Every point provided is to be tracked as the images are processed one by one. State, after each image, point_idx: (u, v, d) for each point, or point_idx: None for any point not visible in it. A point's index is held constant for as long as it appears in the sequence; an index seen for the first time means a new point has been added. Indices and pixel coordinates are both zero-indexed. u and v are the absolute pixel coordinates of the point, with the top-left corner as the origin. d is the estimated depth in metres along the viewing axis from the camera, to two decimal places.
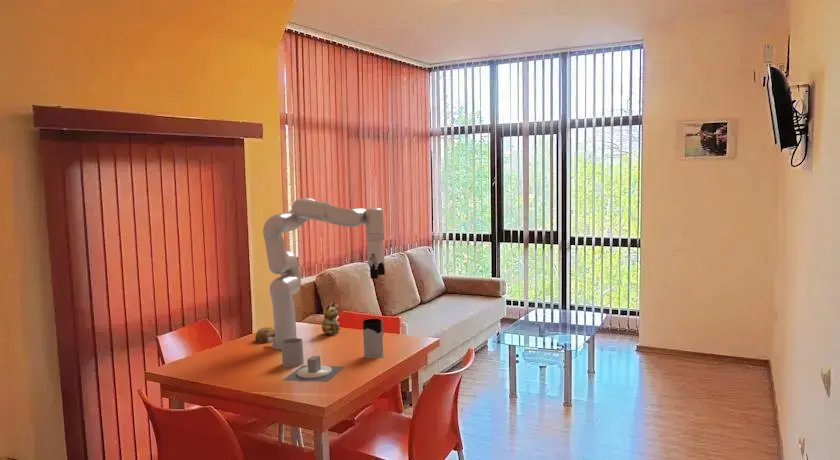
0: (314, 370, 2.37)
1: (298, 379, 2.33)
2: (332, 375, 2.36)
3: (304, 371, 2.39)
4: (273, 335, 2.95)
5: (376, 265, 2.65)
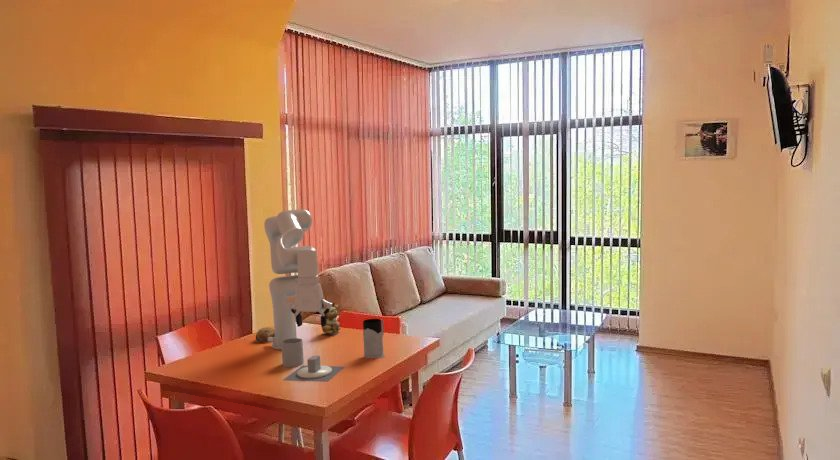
0: (314, 370, 2.37)
1: (298, 379, 2.33)
2: (332, 375, 2.36)
3: (304, 371, 2.39)
4: (273, 335, 2.95)
5: (324, 310, 2.38)
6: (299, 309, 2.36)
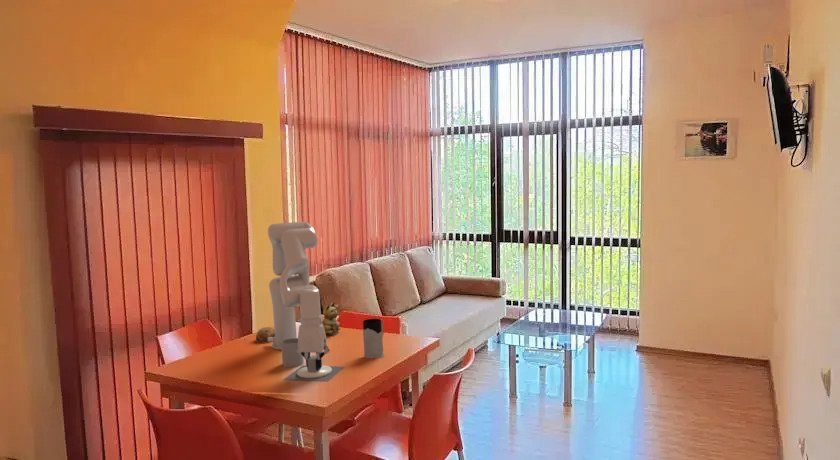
0: (314, 370, 2.37)
1: (298, 379, 2.33)
2: (332, 375, 2.36)
3: (304, 371, 2.40)
4: (274, 335, 2.95)
5: None
6: (302, 349, 2.37)
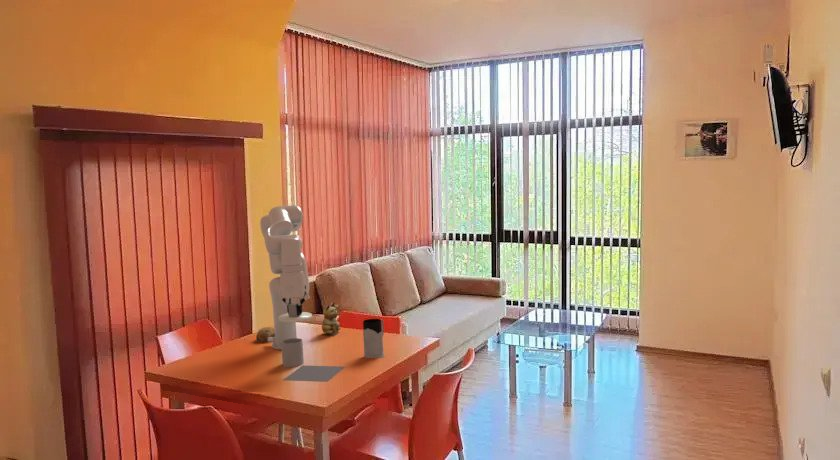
0: (295, 315, 2.46)
1: (298, 379, 2.33)
2: (332, 375, 2.36)
3: (285, 316, 2.48)
4: (274, 335, 2.95)
5: None
6: (283, 295, 2.46)
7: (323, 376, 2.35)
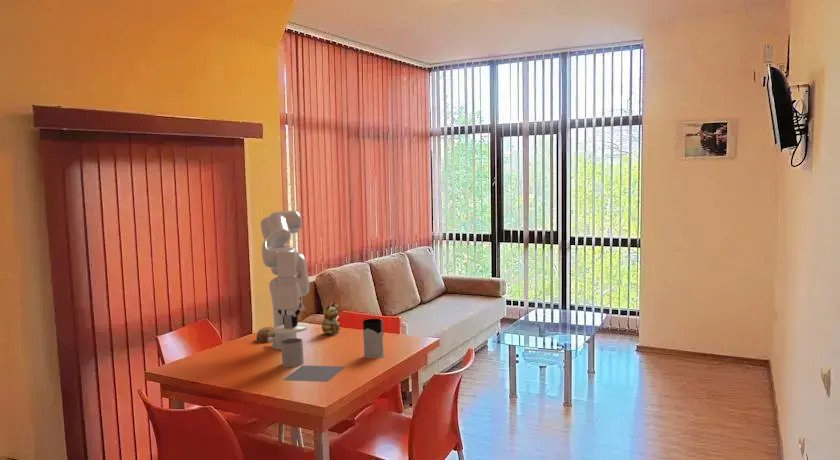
0: (290, 326, 2.50)
1: (298, 379, 2.33)
2: (332, 375, 2.36)
3: (281, 328, 2.52)
4: (274, 335, 2.95)
5: None
6: (278, 307, 2.50)
7: (323, 376, 2.35)
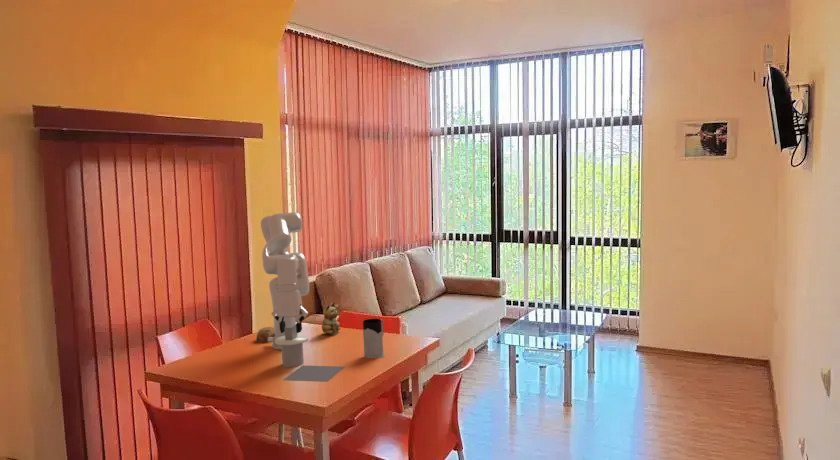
0: (291, 338, 2.50)
1: (298, 379, 2.33)
2: (332, 375, 2.36)
3: (281, 339, 2.53)
4: (274, 334, 2.96)
5: None
6: (279, 314, 2.50)
7: (323, 376, 2.35)
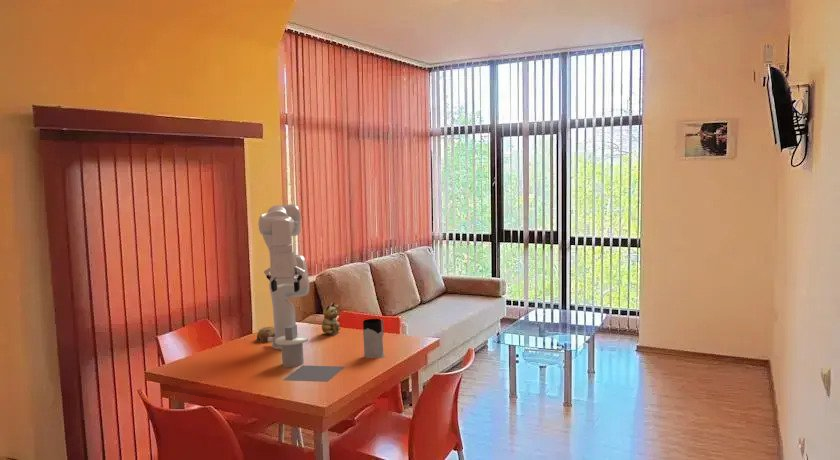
0: (291, 338, 2.50)
1: (298, 379, 2.33)
2: (332, 375, 2.36)
3: (282, 339, 2.53)
4: None
5: None
6: (274, 275, 2.52)
7: (323, 376, 2.35)
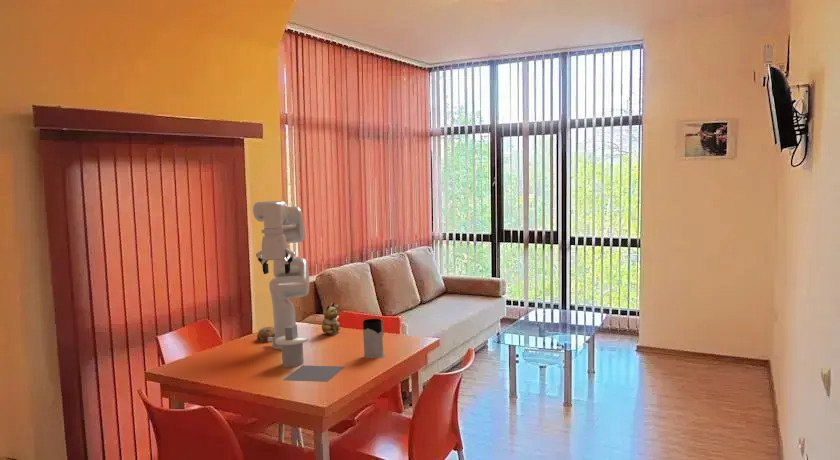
0: (291, 338, 2.50)
1: (298, 379, 2.33)
2: (332, 375, 2.36)
3: (282, 339, 2.53)
4: None
5: (288, 259, 2.59)
6: (265, 258, 2.57)
7: (323, 376, 2.35)
